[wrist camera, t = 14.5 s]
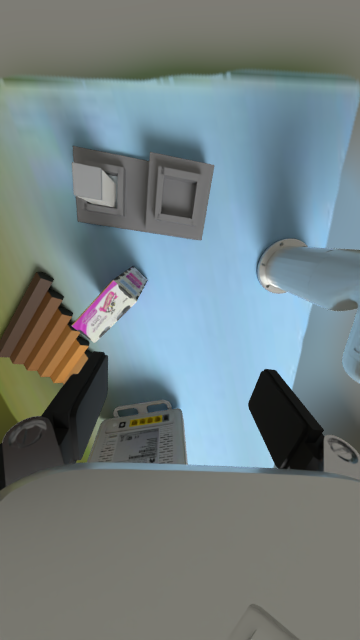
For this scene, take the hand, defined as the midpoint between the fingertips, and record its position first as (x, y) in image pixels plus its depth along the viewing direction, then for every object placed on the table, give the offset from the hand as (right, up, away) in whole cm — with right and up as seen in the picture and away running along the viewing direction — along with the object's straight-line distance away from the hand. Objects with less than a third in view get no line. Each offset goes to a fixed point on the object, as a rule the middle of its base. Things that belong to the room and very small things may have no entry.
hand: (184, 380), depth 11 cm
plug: (-15, +28, +25) cm, 40 cm away
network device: (-12, -27, +50) cm, 58 cm away
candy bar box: (-14, +11, +33) cm, 38 cm away
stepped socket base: (-8, +28, +26) cm, 39 cm away
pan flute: (-30, -1, +38) cm, 49 cm away
